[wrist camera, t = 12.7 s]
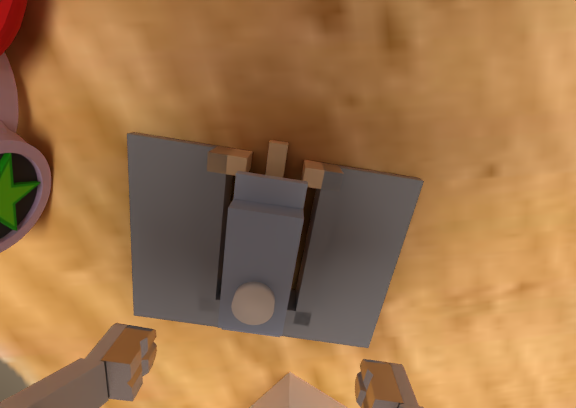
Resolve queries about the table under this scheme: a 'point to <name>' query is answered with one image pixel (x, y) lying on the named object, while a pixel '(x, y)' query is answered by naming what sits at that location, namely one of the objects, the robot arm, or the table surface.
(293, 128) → the table surface
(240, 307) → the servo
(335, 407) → the double compartment bin
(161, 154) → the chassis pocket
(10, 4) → the headphones
